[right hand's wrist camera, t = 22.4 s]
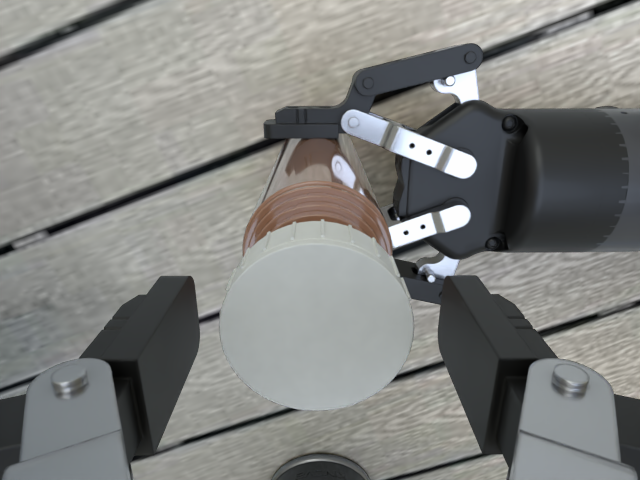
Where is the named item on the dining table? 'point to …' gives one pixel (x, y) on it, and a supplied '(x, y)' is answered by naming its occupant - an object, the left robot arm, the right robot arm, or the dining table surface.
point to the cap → (316, 317)
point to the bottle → (318, 191)
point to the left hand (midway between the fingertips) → (269, 183)
